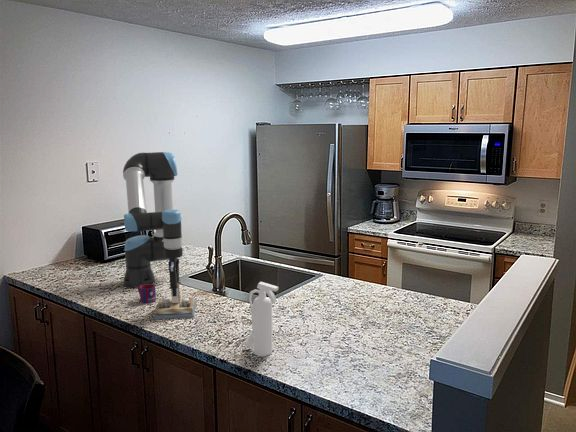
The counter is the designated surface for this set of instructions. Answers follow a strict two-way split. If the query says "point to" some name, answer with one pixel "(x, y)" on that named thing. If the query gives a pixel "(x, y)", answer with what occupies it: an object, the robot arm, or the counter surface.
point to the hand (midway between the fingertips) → (175, 301)
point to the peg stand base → (175, 306)
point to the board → (178, 315)
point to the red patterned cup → (147, 293)
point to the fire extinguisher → (262, 319)
